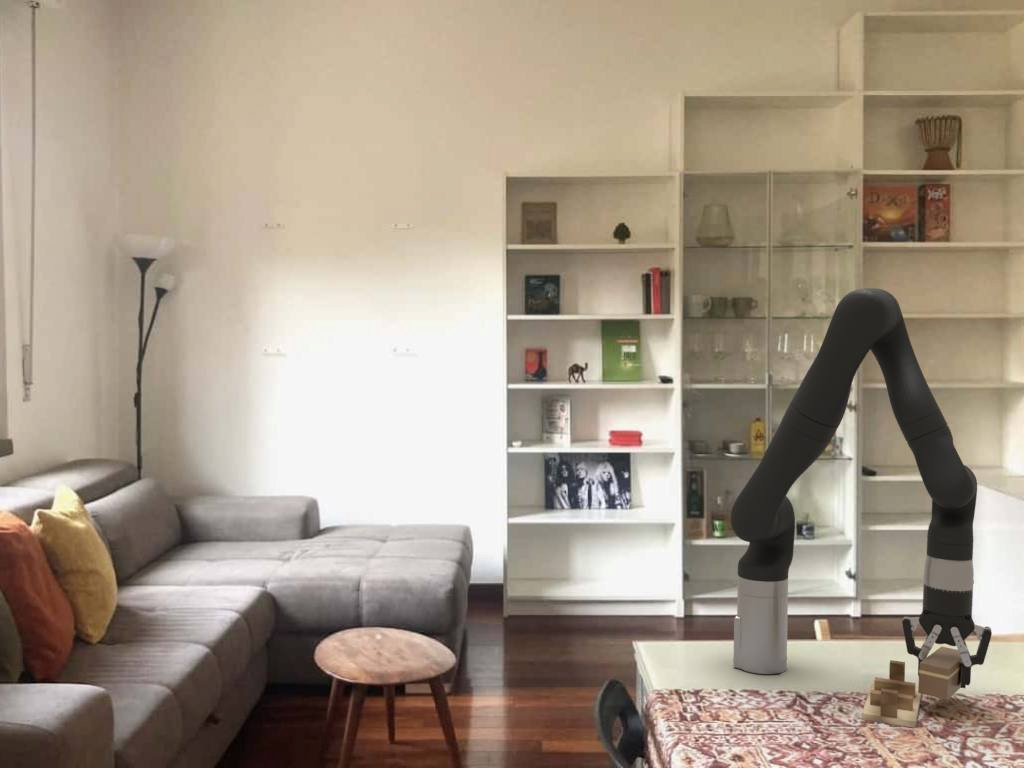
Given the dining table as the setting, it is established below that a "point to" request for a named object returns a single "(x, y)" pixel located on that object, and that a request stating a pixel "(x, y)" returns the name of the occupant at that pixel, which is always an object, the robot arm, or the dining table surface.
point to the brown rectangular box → (940, 673)
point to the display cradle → (893, 699)
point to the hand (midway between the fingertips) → (943, 683)
